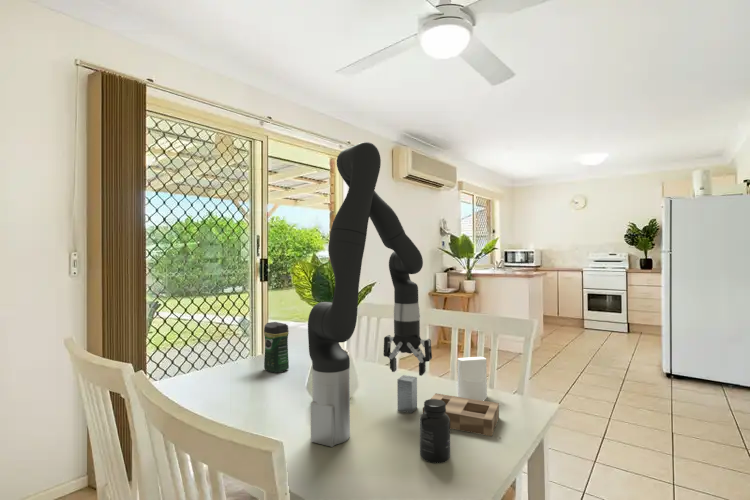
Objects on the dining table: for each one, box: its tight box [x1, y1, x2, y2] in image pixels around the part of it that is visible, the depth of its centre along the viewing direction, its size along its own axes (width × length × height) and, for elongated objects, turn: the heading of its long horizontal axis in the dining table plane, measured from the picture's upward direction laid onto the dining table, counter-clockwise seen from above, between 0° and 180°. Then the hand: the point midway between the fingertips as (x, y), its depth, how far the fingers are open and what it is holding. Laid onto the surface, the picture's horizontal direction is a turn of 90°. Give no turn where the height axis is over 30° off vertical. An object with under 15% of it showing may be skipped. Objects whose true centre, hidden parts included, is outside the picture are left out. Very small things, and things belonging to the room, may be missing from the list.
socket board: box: [422, 393, 500, 437], centre depth 106 cm, size 12×18×4 cm, turn 64°
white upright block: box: [457, 356, 488, 401], centre depth 123 cm, size 9×9×12 cm
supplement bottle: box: [419, 398, 451, 464], centre depth 87 cm, size 7×7×12 cm
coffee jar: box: [263, 321, 290, 373], centre depth 152 cm, size 10×8×19 cm
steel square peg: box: [396, 374, 418, 414], centre depth 114 cm, size 4×4×9 cm
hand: (407, 373), depth 114 cm, fingers open, 8 cm apart
